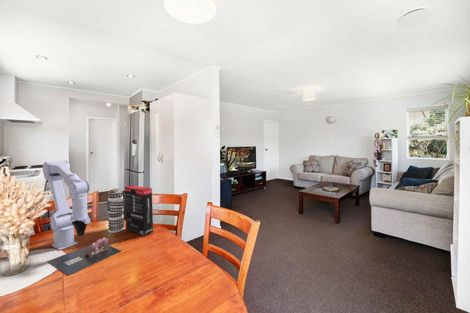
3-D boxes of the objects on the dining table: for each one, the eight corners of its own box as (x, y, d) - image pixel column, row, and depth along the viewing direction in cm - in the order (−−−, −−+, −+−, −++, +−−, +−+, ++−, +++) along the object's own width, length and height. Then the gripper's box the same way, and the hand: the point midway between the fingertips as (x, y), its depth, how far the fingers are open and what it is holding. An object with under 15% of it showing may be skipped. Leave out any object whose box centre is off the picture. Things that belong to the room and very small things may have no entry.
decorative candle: (114, 226, 133) (113, 187, 131) (128, 227, 132) (127, 188, 130) (104, 232, 124) (102, 190, 122) (118, 233, 123) (117, 191, 121)
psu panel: (47, 261, 93) (47, 261, 93) (99, 241, 112) (99, 241, 112) (68, 275, 83) (68, 275, 83) (121, 251, 102) (121, 250, 102)
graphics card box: (154, 232, 124) (153, 187, 123) (144, 236, 118) (143, 189, 116) (134, 227, 132) (133, 184, 130) (124, 231, 126) (123, 186, 124)
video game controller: (90, 259, 97) (95, 247, 96) (82, 254, 98) (87, 242, 97) (107, 249, 107) (112, 237, 106) (100, 244, 107) (105, 233, 106)
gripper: (62, 206, 98) (63, 234, 99) (77, 212, 91) (78, 242, 92) (79, 203, 104) (80, 229, 105) (94, 208, 97) (95, 236, 98)
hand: (80, 235), depth 99 cm, fingers closed
